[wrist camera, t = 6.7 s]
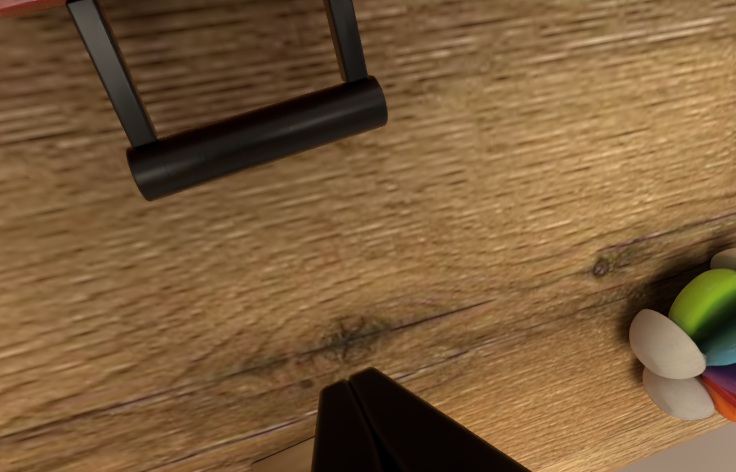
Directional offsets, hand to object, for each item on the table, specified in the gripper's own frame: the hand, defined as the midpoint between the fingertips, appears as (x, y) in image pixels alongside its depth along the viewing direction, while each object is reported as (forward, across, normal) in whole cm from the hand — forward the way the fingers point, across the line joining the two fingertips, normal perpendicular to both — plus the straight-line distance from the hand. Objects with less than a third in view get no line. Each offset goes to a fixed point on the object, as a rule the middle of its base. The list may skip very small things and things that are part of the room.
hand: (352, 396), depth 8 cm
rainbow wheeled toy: (+12, -20, +17) cm, 29 cm away
